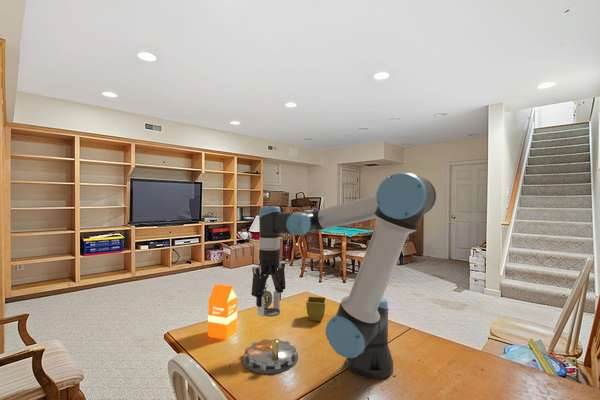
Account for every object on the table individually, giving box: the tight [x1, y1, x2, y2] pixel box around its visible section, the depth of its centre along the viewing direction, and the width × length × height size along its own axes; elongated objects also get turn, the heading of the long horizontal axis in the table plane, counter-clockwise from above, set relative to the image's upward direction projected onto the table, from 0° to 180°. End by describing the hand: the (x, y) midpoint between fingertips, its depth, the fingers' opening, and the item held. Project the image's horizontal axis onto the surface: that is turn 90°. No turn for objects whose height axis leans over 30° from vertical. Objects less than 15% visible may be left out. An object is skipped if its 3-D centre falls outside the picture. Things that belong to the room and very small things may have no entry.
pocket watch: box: [262, 283, 281, 318], centre depth 104 cm, size 8×8×10 cm
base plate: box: [242, 353, 299, 375], centre depth 99 cm, size 19×19×1 cm
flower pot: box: [305, 296, 327, 322], centre depth 134 cm, size 9×9×9 cm
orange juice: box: [207, 283, 238, 341], centre depth 118 cm, size 8×9×20 cm
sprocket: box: [243, 338, 298, 370], centre depth 100 cm, size 18×18×8 cm
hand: (268, 312), depth 104 cm, fingers closed on pocket watch, 7 cm apart
